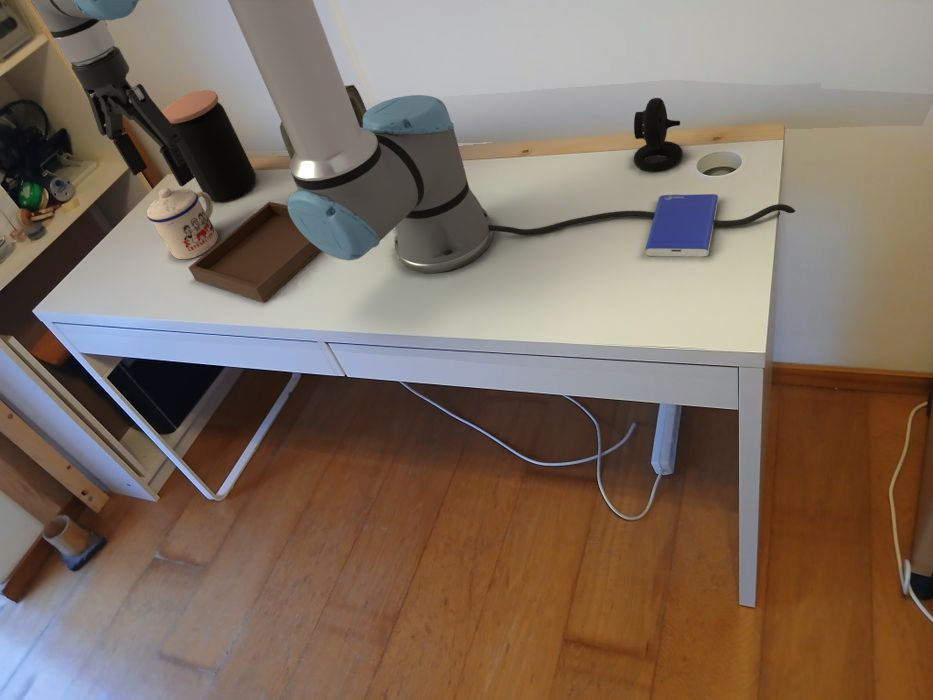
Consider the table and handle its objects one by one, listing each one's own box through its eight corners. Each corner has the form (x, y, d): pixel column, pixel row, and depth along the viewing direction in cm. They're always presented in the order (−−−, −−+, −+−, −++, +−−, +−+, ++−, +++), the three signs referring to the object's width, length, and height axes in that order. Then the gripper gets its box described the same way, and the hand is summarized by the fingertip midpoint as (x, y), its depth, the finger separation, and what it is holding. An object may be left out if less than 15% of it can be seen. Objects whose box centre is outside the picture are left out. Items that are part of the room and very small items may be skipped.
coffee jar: (267, 172, 151) (227, 87, 139) (242, 203, 144) (197, 116, 132) (223, 175, 155) (180, 92, 143) (196, 205, 148) (149, 121, 136)
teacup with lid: (197, 263, 132) (163, 207, 124) (161, 258, 136) (127, 203, 128) (239, 222, 139) (210, 167, 131) (204, 219, 143) (174, 165, 135)
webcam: (638, 147, 125) (633, 90, 118) (685, 145, 122) (682, 86, 115) (630, 173, 120) (623, 115, 113) (678, 172, 117) (675, 112, 110)
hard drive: (659, 194, 111) (645, 247, 103) (717, 193, 108) (707, 247, 100) (659, 203, 112) (646, 256, 104) (718, 202, 109) (708, 256, 101)
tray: (344, 230, 128) (338, 216, 126) (264, 303, 118) (256, 289, 116) (275, 214, 138) (269, 201, 136) (195, 280, 128) (187, 267, 126)
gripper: (160, 46, 110) (225, 173, 124) (70, 40, 123) (138, 155, 137) (119, 71, 106) (191, 199, 120) (31, 62, 119) (105, 178, 133)
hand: (163, 176), depth 129 cm, fingers open, 13 cm apart
